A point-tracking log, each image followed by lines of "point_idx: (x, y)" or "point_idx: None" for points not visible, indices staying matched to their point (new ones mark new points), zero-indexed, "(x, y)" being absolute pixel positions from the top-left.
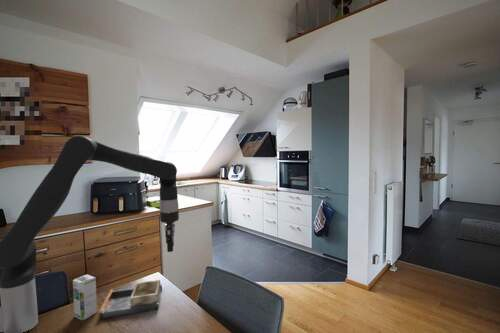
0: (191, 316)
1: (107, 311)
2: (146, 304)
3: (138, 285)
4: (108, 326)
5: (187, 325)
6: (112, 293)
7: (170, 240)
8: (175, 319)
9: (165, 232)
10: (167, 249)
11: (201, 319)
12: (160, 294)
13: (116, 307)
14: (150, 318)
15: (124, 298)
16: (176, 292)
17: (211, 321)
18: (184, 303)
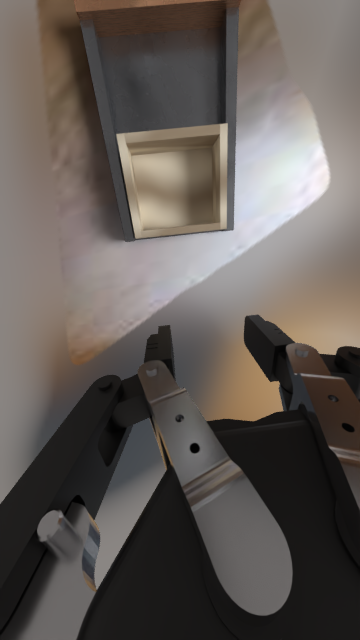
0: (102, 321)
1: (89, 45)
2: (126, 204)
3: (217, 140)
4: (53, 90)
5: (74, 316)
6: (214, 8)
7: (106, 425)
8: (92, 290)
9: (171, 455)
10: (159, 332)
11: (93, 339)
12: (195, 232)
13: (145, 79)
14: (94, 227)
15: (196, 95)
16: (200, 275)
17: (88, 356)
18: (150, 301)
